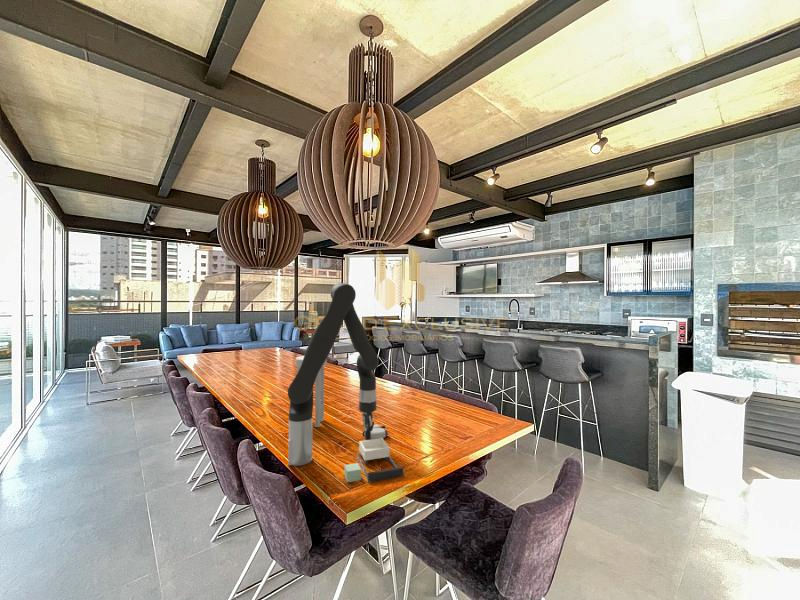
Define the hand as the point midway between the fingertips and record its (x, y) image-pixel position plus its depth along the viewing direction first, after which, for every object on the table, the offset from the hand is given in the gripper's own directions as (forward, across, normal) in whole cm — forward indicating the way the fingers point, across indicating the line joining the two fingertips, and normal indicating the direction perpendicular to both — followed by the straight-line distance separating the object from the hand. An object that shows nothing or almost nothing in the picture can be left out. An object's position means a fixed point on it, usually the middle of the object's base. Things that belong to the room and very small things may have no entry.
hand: (367, 439), depth 145 cm
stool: (+5, -40, -21) cm, 46 cm away
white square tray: (+3, +11, 0) cm, 11 cm away
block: (+5, +23, -11) cm, 26 cm away
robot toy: (+5, -13, +7) cm, 16 cm away
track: (+5, +17, 0) cm, 18 cm away
